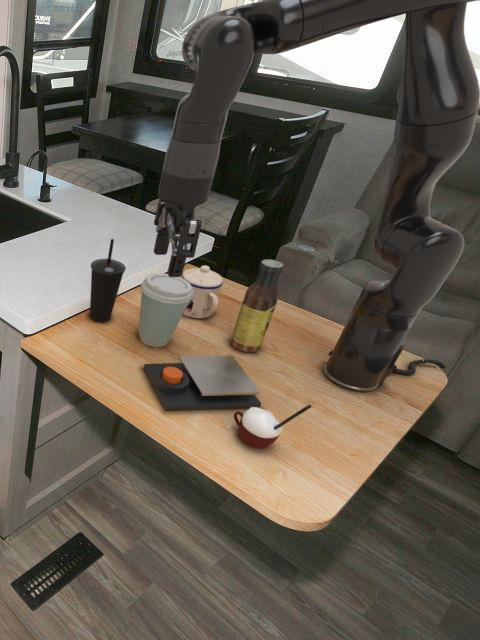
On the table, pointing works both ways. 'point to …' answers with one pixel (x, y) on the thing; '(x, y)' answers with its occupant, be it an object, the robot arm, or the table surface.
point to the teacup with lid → (202, 291)
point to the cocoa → (261, 426)
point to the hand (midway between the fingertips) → (166, 264)
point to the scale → (191, 393)
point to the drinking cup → (105, 286)
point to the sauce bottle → (257, 308)
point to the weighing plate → (218, 375)
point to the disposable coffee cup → (162, 307)
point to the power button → (172, 375)
